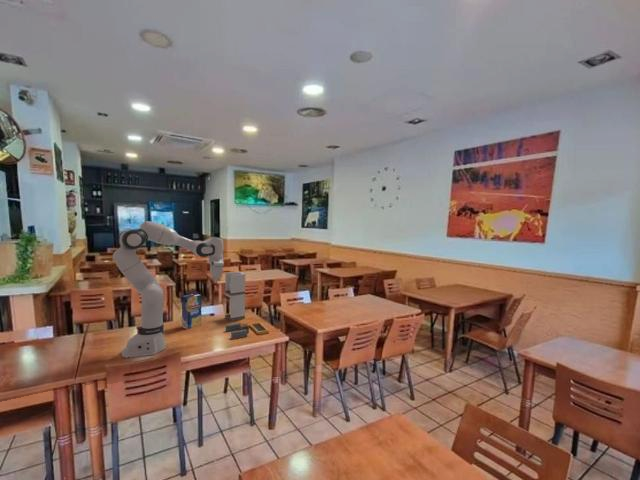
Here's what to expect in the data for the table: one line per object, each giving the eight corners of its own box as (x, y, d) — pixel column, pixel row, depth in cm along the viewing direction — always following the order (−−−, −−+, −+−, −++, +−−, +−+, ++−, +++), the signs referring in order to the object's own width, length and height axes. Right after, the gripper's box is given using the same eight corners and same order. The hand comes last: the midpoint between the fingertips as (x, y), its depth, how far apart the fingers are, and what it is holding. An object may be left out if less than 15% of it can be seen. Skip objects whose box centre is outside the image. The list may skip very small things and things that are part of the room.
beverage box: (201, 324, 225) (201, 294, 223) (187, 329, 216) (187, 297, 214) (195, 322, 229) (195, 293, 227) (181, 327, 219) (181, 296, 218)
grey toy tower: (238, 314, 250) (239, 271, 247) (244, 318, 241) (245, 273, 239) (225, 317, 242) (225, 273, 240) (230, 321, 234) (231, 275, 232)
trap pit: (257, 335, 209) (257, 332, 209) (249, 326, 224) (249, 323, 224) (269, 333, 213) (269, 330, 213) (259, 324, 228) (259, 322, 228)
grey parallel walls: (231, 338, 201) (232, 332, 201) (225, 330, 215) (225, 325, 214) (247, 336, 206) (247, 330, 206) (240, 328, 220) (240, 322, 220)
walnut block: (241, 334, 210) (241, 326, 209) (239, 331, 214) (239, 324, 214) (248, 333, 212) (248, 325, 212) (246, 330, 217) (246, 323, 216)
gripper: (207, 259, 211) (207, 279, 211) (214, 263, 193) (213, 285, 194) (217, 259, 214) (216, 279, 215) (224, 263, 196) (223, 285, 197)
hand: (215, 282), depth 204 cm, fingers closed
